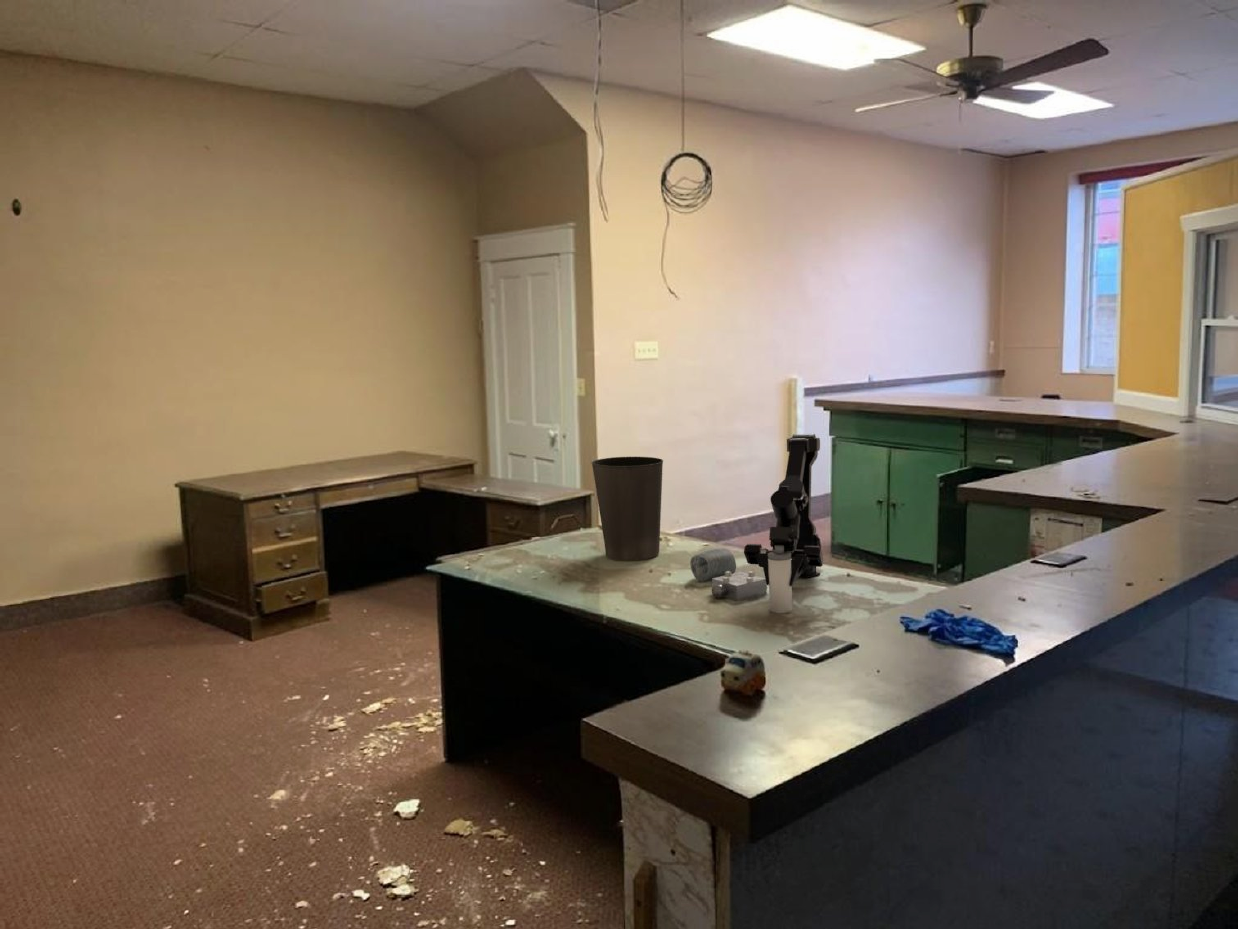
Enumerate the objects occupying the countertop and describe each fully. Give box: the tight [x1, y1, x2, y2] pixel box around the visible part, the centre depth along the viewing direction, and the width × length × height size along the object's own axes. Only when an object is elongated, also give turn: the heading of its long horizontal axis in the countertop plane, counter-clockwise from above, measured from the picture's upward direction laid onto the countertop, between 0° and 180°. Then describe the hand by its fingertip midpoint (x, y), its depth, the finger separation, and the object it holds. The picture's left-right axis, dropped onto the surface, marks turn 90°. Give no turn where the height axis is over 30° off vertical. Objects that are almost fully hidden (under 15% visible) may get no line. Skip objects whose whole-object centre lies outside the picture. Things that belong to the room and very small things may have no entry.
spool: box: [690, 547, 737, 583], centre depth 258 cm, size 14×10×10 cm
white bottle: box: [768, 545, 793, 614], centre depth 224 cm, size 6×6×16 cm
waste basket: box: [591, 456, 664, 562], centre depth 289 cm, size 27×20×30 cm
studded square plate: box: [711, 571, 768, 602], centre depth 240 cm, size 13×10×5 cm
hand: (779, 585), depth 223 cm, fingers closed on white bottle, 5 cm apart
